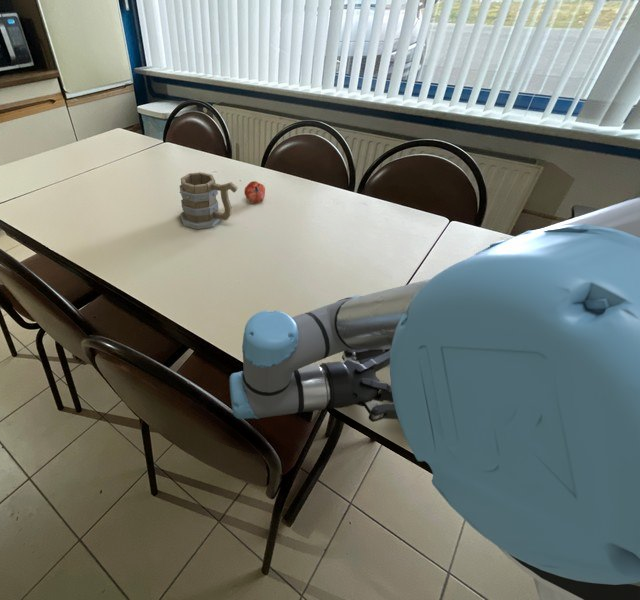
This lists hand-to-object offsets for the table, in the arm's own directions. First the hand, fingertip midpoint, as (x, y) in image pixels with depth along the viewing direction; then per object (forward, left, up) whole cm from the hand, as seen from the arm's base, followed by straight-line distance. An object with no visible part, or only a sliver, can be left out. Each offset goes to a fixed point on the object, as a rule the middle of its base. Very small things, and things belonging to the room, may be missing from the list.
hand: (450, 371), depth 63 cm
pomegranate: (+87, +20, -10) cm, 90 cm away
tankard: (+74, +37, -10) cm, 83 cm away
